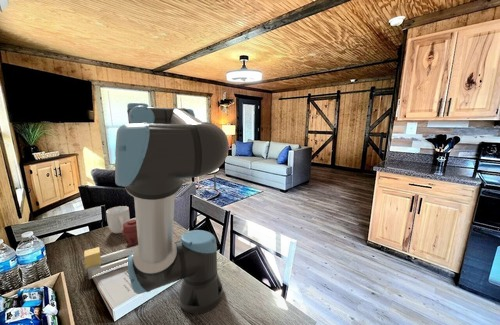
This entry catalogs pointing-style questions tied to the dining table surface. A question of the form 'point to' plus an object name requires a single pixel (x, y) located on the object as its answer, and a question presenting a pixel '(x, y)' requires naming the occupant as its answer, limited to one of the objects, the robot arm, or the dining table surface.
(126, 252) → the white slotted console
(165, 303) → the dining table surface
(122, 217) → the mug
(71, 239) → the dining table surface
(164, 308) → the dining table surface
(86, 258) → the block
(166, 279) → the robot arm
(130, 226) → the mechanical component
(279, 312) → the dining table surface
